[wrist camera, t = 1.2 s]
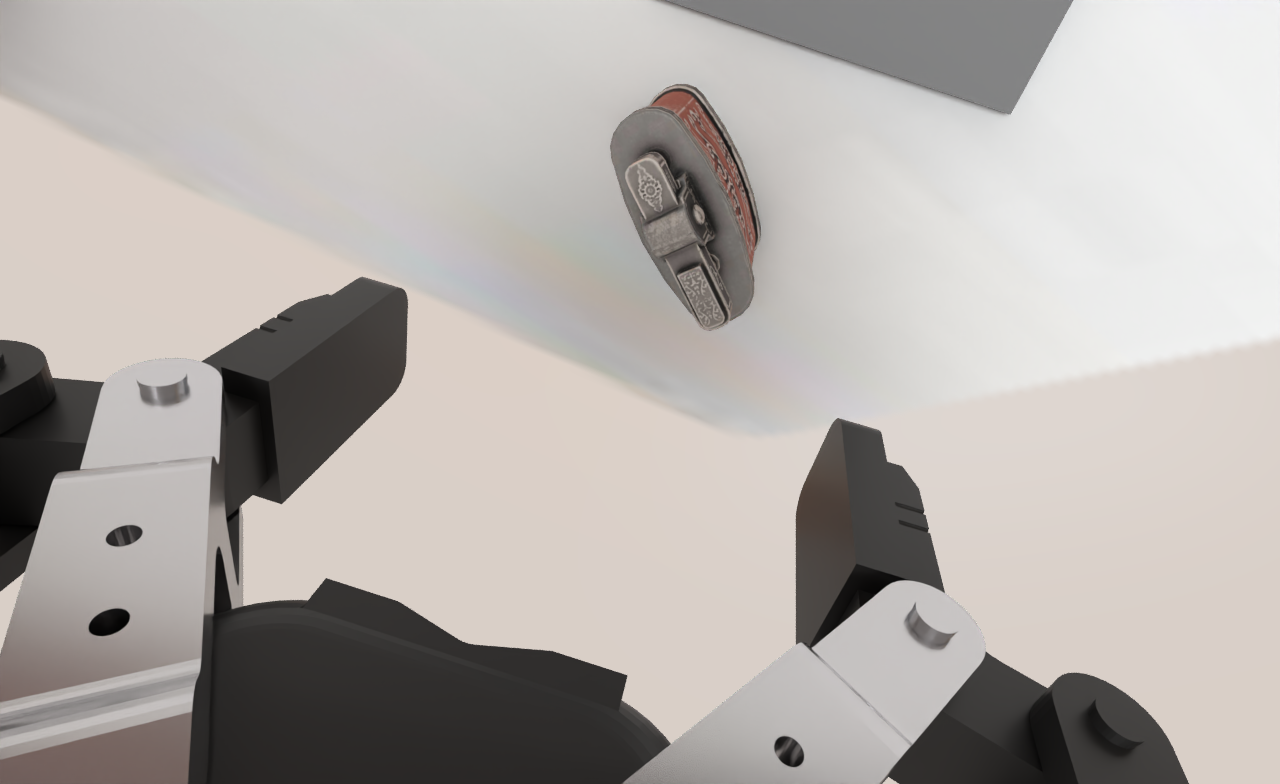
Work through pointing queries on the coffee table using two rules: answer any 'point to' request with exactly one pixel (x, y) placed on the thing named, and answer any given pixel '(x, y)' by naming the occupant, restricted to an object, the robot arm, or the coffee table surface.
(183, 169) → the coffee table surface
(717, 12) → the rubber mat
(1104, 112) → the coffee table surface
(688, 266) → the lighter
